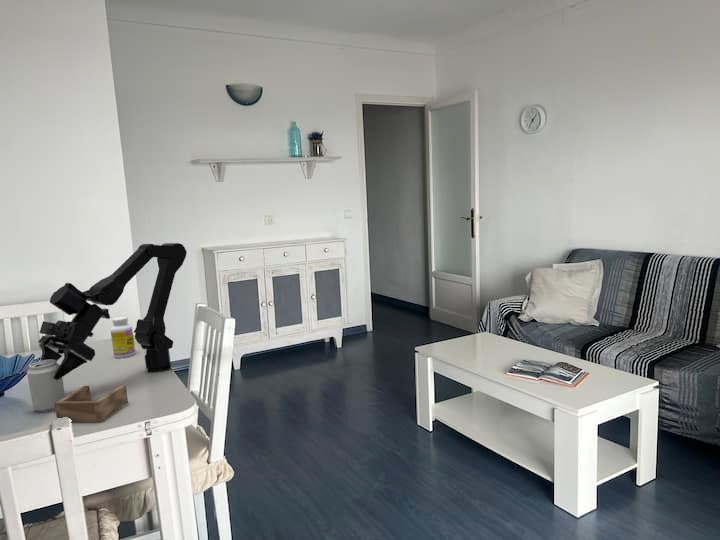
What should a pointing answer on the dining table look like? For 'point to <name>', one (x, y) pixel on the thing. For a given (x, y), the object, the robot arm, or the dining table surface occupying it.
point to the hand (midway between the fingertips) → (46, 376)
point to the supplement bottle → (122, 338)
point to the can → (45, 385)
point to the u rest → (90, 405)
